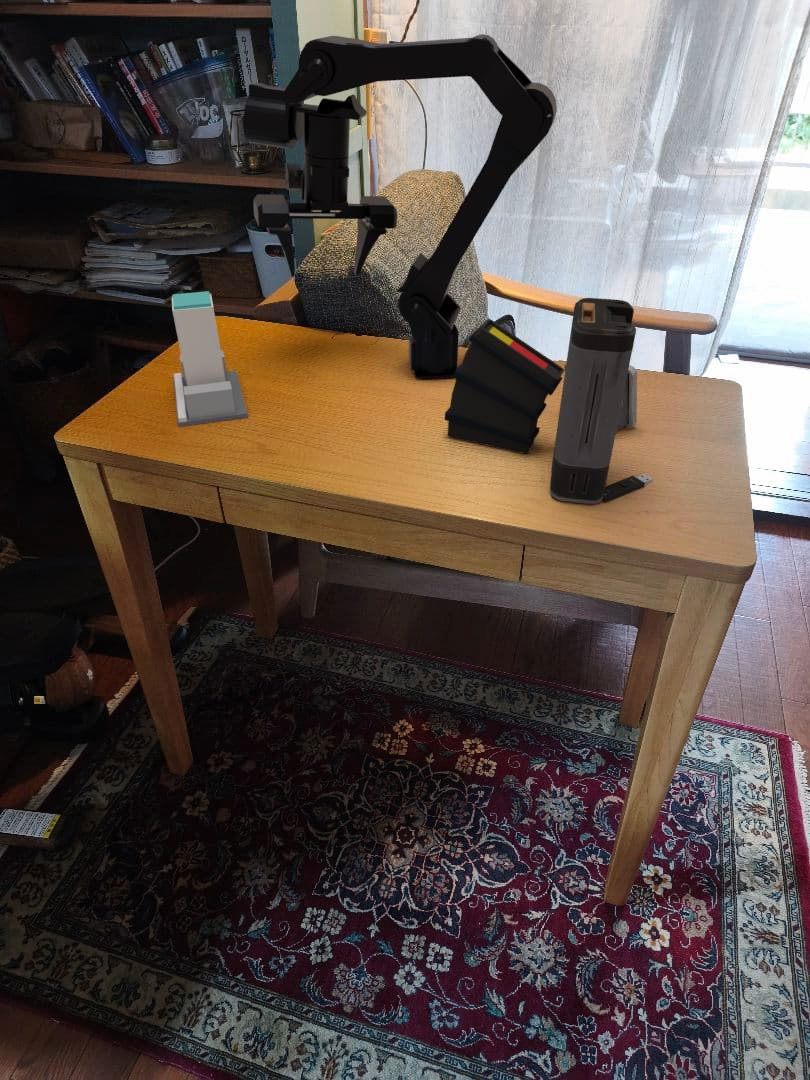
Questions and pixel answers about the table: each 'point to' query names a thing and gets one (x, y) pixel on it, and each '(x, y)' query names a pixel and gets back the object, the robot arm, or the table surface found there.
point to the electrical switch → (628, 401)
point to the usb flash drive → (625, 487)
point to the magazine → (500, 390)
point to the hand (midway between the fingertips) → (324, 275)
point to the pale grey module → (198, 338)
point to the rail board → (209, 399)
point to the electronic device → (591, 398)
